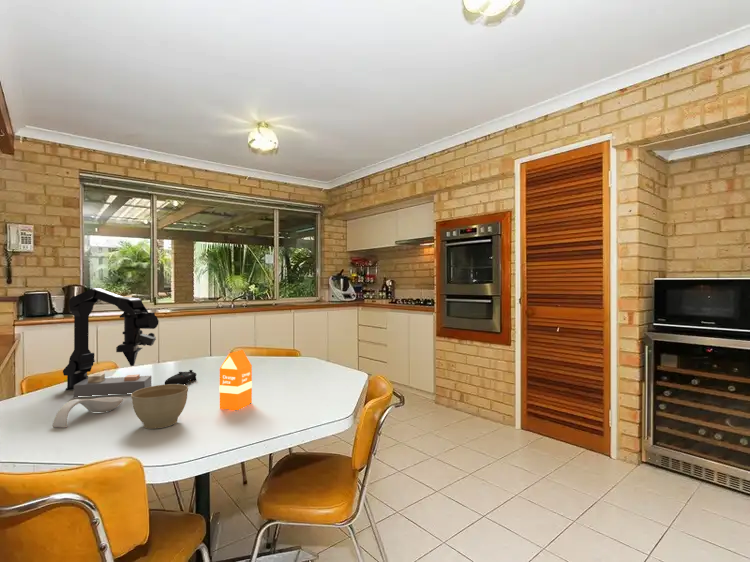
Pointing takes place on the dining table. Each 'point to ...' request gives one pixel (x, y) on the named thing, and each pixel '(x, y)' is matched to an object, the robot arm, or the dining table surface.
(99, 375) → the ash key
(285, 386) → the dining table surface
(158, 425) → the planter bowl
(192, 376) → the gaming controller
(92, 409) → the spoon rest
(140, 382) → the key housing
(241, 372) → the orange juice
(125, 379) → the terracotta key
